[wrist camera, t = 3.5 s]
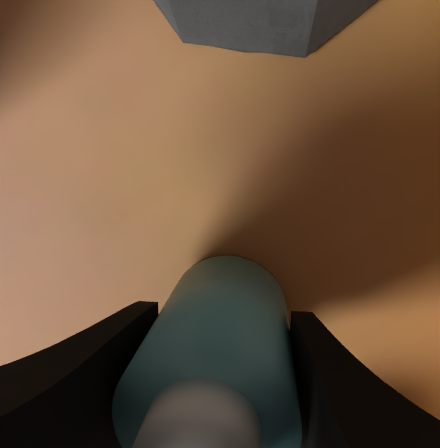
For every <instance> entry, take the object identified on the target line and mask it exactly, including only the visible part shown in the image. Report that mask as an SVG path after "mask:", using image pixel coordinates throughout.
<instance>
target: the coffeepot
mask: <svg viewBox="0 0 440 448" xmlns="http://www.w3.org/2000/svg"><path fill="white" fill-rule="evenodd" d="M153 1H154V2H155V4H156V5H157V7H158V8H159V9H160V11H161V12H162V14H163V15H164V16H165V18H166V19H167V21H168V22H169V23H170V25H171V26H172V28H173V29H174V30H175V32H176V33H177V35H178V36H179V37H180V39H181V40H182V42H183V43H190V44H198V45H206V46H214V47H219V48H224V49H229V50H235V51H240V52H257V53H271V54H279V55H287V56H295V57H303V58H306V57H307V56H308V55H310V54H311V53H312V52H313V51H315V50H316V49H317V48H318V47H320V46H321V45H322V44H323V43H325V42H326V41H327V40H328V39H330V38H331V37H332V36H333V35H335V34H336V33H337V32H339V31H340V30H341V29H343V28H344V27H345V26H347V25H348V24H349V23H351V22H352V21H353V20H355V19H356V18H357V17H359V16H360V15H361V14H362V13H363V12H364V11H365V10H366V9H367V8H369V7H370V6H371V5H372V4H374V3H375V2H376V1H378V0H153Z"/></svg>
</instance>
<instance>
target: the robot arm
mask: <svg viewBox="0 0 440 448" xmlns="http://www.w3.org/2000/svg"><path fill="white" fill-rule="evenodd" d="M157 317H158V302H146V301H138V302H136V303H133V304H131V305H129V306H127V307H125V308H123V309H122V310H120V311H118V312H116V313H114V314H113V315H111V316H109V317H107V318H105V319H103V320H102V321H100V322H98V323H96V324H94V325H92V326H91V327H89V328H87V329H85V330H83V331H81V332H79V333H77V334H75V335H73V336H71V337H69V338H67V339H65V340H63V341H61V342H59V343H57V344H55V345H52V346H50V347H48V348H46V349H43V350H41V351H39V352H36V353H34V354H31V355H29V356H26V357H24V358H21V359H19V360H16V361H14V362H11V363H8V364H5V365H2V366H0V448H122V447H121V445H120V442H119V440H118V438H117V436H116V432H115V429H114V425H113V419H112V403H113V396H114V393H115V390H116V387H117V385H118V383H119V381H120V379H121V377H122V375H123V374H124V372H125V370H126V369H127V367H128V365H129V364H130V362H131V360H132V359H133V357H134V355H135V353H136V352H137V350H138V348H139V347H140V345H141V343H142V342H143V340H144V338H145V337H146V335H147V333H148V332H149V330H150V328H151V327H152V325H153V323H154V322H155V320H156V318H157ZM290 337H291V345H292V353H293V361H294V369H295V377H296V385H297V392H298V400H299V408H300V416H301V424H302V440H301V446H300V448H440V420H438V419H437V418H435V417H434V416H432V415H431V414H429V413H427V412H426V411H424V410H423V409H421V408H420V407H418V406H417V405H415V404H414V403H412V402H411V401H409V400H408V399H407V398H405V397H404V396H402V395H401V394H400V393H398V392H397V391H396V390H394V389H393V388H392V387H390V386H389V385H388V384H386V383H385V382H384V381H382V380H381V379H380V378H379V377H378V376H376V375H375V374H374V373H373V372H372V371H370V370H369V369H368V368H367V367H366V366H365V365H364V364H362V363H361V362H360V361H359V360H358V359H357V358H356V357H355V356H354V355H353V354H351V353H350V352H349V351H348V350H347V349H346V348H345V347H344V346H343V345H342V344H341V343H340V342H339V341H338V340H337V339H336V338H335V337H334V336H333V334H332V333H331V332H330V331H329V330H328V329H327V328H326V327H325V326H324V325H323V323H322V322H321V321H320V320H319V319H318V318H317V317H316V316H315V315H314V314H313V313H312V312H299V311H291V323H290Z"/></svg>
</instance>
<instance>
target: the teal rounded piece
mask: <svg viewBox="0 0 440 448" xmlns="http://www.w3.org/2000/svg"><path fill="white" fill-rule="evenodd" d="M112 419H113V425H114V429H115V432H116V436H117V438H118V440H119V442H120V445H121V447H122V448H300V446H301V440H302V424H301V416H300V408H299V400H298V392H297V385H296V377H295V369H294V361H293V353H292V345H291V337H290V329H289V321H288V313H287V305H286V299H285V296H284V293H283V291H282V289H281V287H280V285H279V283H278V282H277V280H276V279H275V278H274V277H273V276H272V274H270V273H269V272H268V271H267V270H266V269H265V268H263V267H262V266H260V265H259V264H257V263H255V262H253V261H251V260H248V259H245V258H242V257H237V256H215V257H211V258H207V259H205V260H202V261H200V262H198V263H197V264H195V265H193V266H192V267H191V268H190V269H188V270H187V271H186V272H185V273H184V275H183V276H182V277H181V279H180V280H179V282H178V283H177V285H176V287H175V288H174V290H173V292H172V293H171V295H170V297H169V298H168V300H167V302H166V303H165V305H164V307H163V308H162V310H161V312H160V313H159V315H158V317H157V318H156V320H155V322H154V323H153V325H152V327H151V328H150V330H149V332H148V333H147V335H146V337H145V338H144V340H143V342H142V343H141V345H140V347H139V348H138V350H137V352H136V353H135V355H134V357H133V359H132V360H131V362H130V364H129V365H128V367H127V369H126V370H125V372H124V374H123V375H122V377H121V379H120V381H119V383H118V385H117V387H116V390H115V393H114V396H113V403H112Z"/></svg>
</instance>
